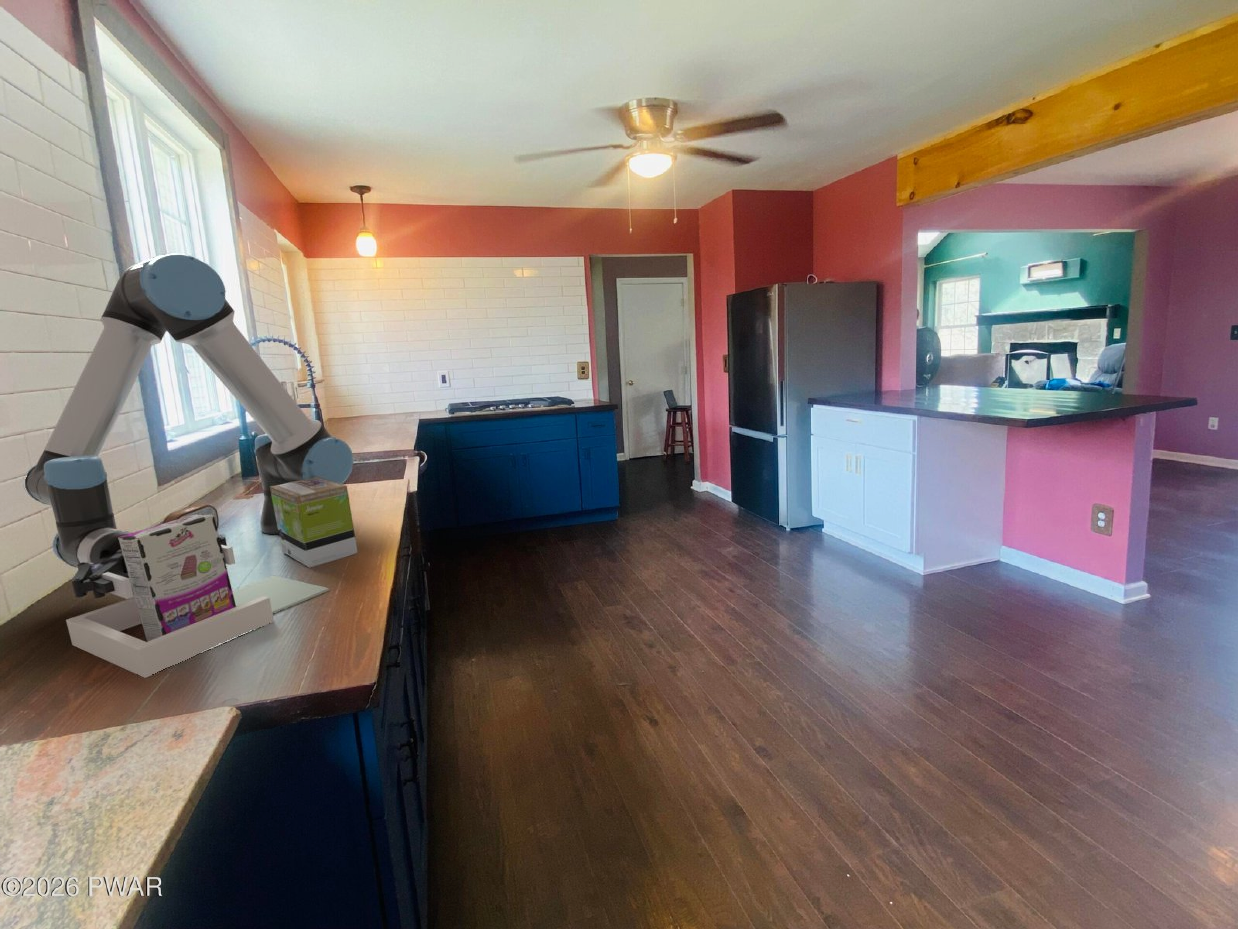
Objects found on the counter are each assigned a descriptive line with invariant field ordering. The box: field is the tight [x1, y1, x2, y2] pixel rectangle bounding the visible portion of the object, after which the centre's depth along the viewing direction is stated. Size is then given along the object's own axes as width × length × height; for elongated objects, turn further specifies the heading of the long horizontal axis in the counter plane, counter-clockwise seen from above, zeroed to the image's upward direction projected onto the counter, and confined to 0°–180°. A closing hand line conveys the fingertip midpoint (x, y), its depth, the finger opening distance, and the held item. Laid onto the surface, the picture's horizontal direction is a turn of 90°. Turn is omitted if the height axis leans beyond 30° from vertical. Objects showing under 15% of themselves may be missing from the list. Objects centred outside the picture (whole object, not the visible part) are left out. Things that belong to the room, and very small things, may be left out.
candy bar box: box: [118, 514, 236, 642], centre depth 89 cm, size 11×5×16 cm, turn 160°
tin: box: [161, 503, 220, 530], centre depth 134 cm, size 15×3×8 cm, turn 178°
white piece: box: [65, 596, 275, 679], centre depth 89 cm, size 17×22×4 cm
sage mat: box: [232, 575, 330, 614], centre depth 102 cm, size 11×16×1 cm
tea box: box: [270, 477, 358, 569], centre depth 121 cm, size 15×10×15 cm
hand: (183, 571), depth 88 cm, fingers open, 13 cm apart
